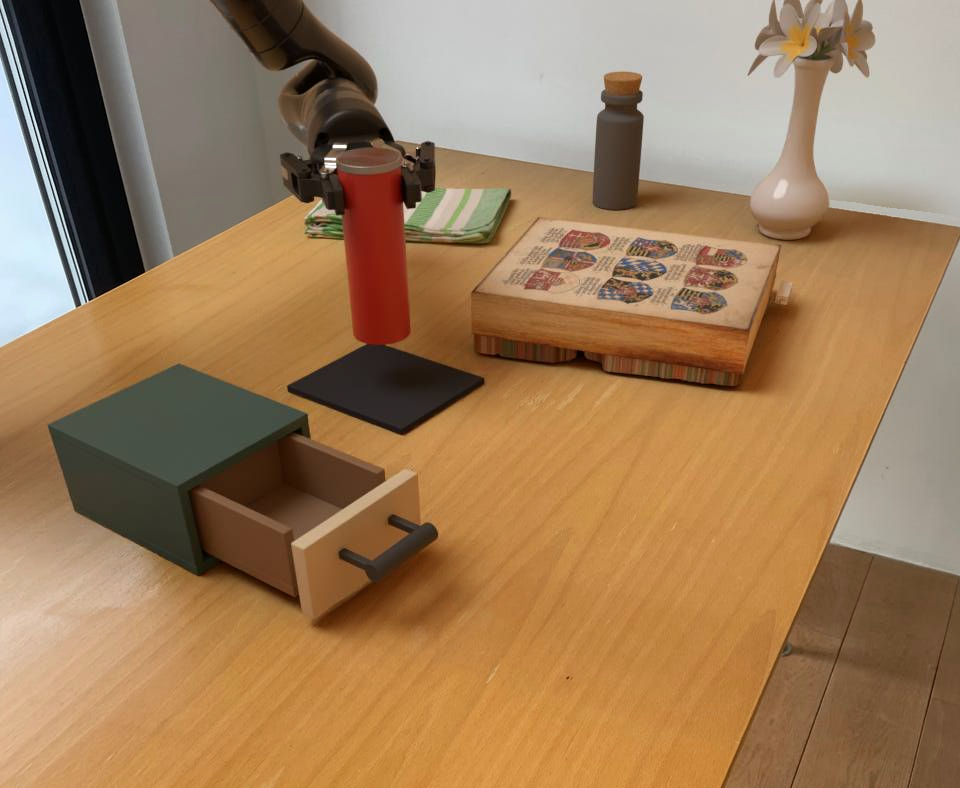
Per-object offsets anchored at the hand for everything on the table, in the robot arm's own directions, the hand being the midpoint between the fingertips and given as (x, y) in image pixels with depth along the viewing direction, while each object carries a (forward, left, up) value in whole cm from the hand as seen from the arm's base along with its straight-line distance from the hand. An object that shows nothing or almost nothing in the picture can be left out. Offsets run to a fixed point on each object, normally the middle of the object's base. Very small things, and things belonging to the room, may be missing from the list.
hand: (375, 199), depth 84 cm
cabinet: (-1, -22, -18) cm, 29 cm away
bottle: (-12, +59, -18) cm, 62 cm away
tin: (-2, +2, -12) cm, 13 cm away
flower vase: (+10, +62, -18) cm, 65 cm away
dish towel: (-30, +39, -18) cm, 52 cm away
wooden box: (+10, +28, -18) cm, 34 cm away
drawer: (+13, -22, -17) cm, 31 cm away
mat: (-2, +2, -18) cm, 18 cm away
